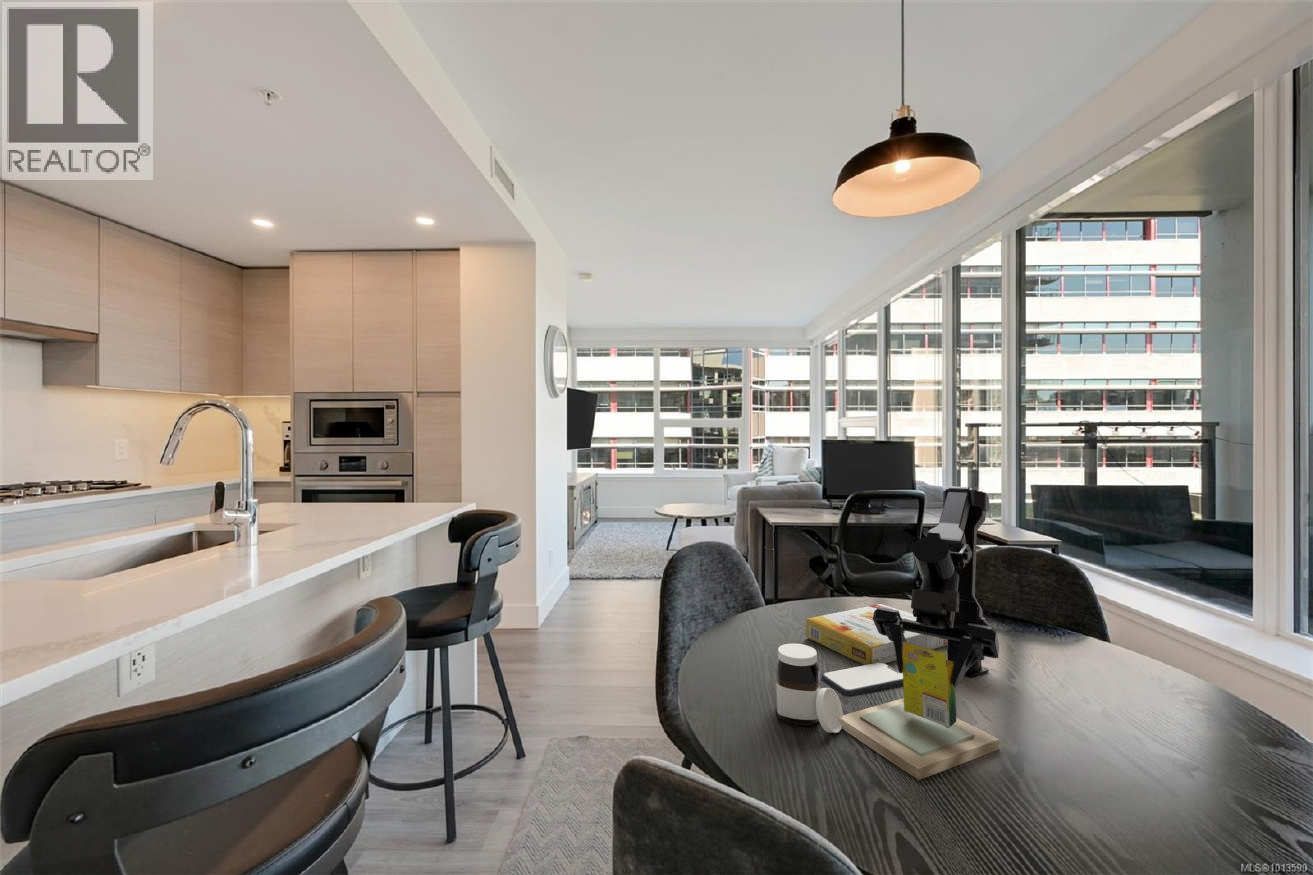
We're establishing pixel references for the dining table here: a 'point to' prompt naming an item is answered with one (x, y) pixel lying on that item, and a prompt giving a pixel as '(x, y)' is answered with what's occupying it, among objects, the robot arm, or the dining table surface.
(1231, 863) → the dining table surface
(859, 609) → the cereal box
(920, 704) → the crayon box
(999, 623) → the dining table surface
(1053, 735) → the dining table surface
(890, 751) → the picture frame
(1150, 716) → the dining table surface
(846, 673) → the smartphone
